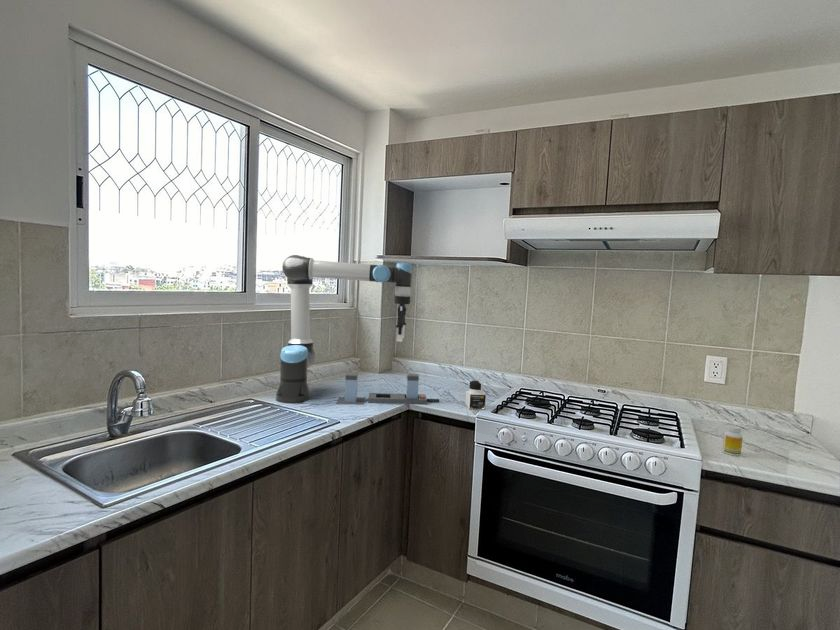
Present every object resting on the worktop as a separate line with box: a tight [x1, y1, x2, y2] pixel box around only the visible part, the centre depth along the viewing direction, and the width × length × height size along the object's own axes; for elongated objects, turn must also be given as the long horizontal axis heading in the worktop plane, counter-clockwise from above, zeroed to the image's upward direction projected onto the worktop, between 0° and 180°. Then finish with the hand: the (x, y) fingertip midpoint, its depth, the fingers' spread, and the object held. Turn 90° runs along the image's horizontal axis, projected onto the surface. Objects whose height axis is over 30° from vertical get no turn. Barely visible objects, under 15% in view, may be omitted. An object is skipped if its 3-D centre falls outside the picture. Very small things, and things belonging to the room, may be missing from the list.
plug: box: [344, 372, 359, 402], centre depth 201 cm, size 5×5×12 cm
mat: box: [335, 396, 366, 406], centre depth 202 cm, size 12×12×1 cm
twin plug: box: [405, 373, 420, 399], centre depth 203 cm, size 5×5×12 cm
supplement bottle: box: [722, 424, 744, 457], centre depth 158 cm, size 5×5×10 cm
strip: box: [367, 392, 440, 406], centre depth 203 cm, size 32×10×4 cm, turn 94°
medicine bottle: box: [465, 380, 487, 410], centre depth 201 cm, size 7×7×12 cm
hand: (400, 339), depth 216 cm, fingers open, 13 cm apart
